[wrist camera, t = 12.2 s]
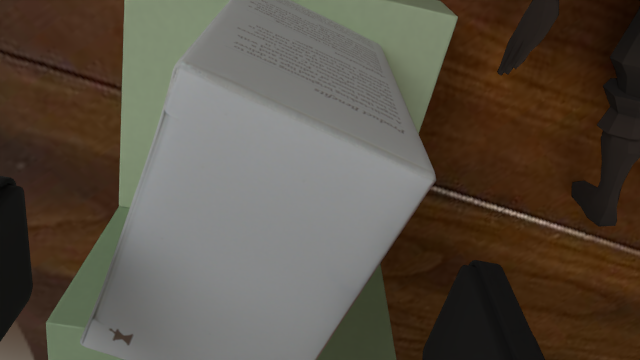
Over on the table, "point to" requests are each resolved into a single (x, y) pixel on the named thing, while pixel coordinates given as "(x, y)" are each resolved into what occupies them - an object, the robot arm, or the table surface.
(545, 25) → the figurine
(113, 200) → the table surface
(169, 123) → the small box
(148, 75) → the green l-shaped step
